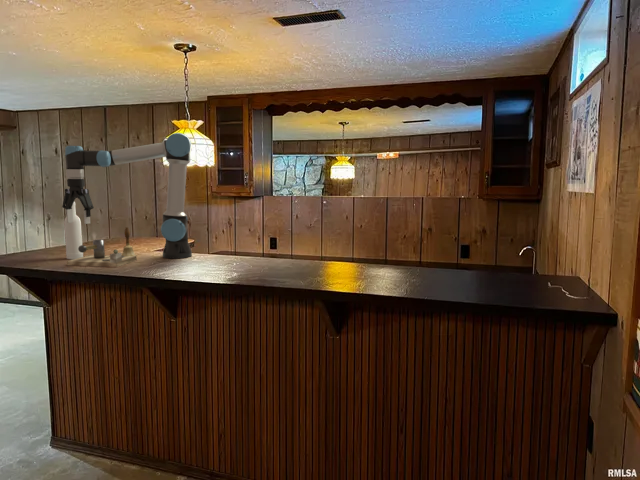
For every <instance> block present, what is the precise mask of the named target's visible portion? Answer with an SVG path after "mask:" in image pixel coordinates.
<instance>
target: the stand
mask: <svg viewBox="0 0 640 480" xmlns="http://www.w3.org/2000/svg"><path fill="white" fill-rule="evenodd" d="M118 251H119V250H118V249H114V250H113V251H112V253H110V254H109V255H105V258H94V254H89V255H85V256H83V257H81V258H77V259H69V260H67V261H66V265H67V266H76V267H77V266H78V267H81V266H82V267H111V268H118V267H121V266H124V265H126V264H129V263H132V262H135V261H137V256H122V253H123V252H118Z"/></svg>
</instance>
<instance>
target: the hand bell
mask: <svg viewBox="0 0 640 480" xmlns="http://www.w3.org/2000/svg"><path fill="white" fill-rule="evenodd" d="M130 233H131V231H130V229H129V227H128V226H127V227H125V229H124V237H125V246H124V247H123V251H122V252H121V253H122V256H136V257H137V256H138V255H137V254H136V253H135V252H134V248H133V246H132V245H130V237H131V236H130V235H131V234H130Z"/></svg>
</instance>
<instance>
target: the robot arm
mask: <svg viewBox="0 0 640 480" xmlns="http://www.w3.org/2000/svg"><path fill="white" fill-rule="evenodd" d="M64 151H65V153H64V154H65V155H64V156H65V166H66V167H65V168H66V169H65V171H66V172H65V173H66V178H67V179H66V183H67V187H69V188H64V197H63V201H62V206H61V208H63V209H64V210H65V215H66V217H67V223H71V222H73V212H72V208H71V207H72V205H73V203H74V201H75V200H76V199H78V200H79V201H80V203H81V205H82V207H83V208H84V209H83V218H84V219H83V221H84V222H83V223H84V225H86V224H87V225H89V224H90V225H91V216H92V215H91V210H93V209H94V205H93V202H92V198H91V197H90V196H91V195H90V190H89V189H88V188H84V187H85V186H86V183H85V182H86V181H85V180H86V179H85V167H102V168H108V167H112V166H118V165H125V164H130V163H135V162H142V161H150V160H156V159H161V158H165V160H166V161H167V163H168V176H167V178H168V179H167V191H166V192H167V193H166V210H165V211H164V212H163V214H162V224H161V227H160V233H161V235H162V237H163V238H164V239H165V243H164V244H165V245H164V247H163V251H162V257H163V258H164V259H185V258H190V257H191V256H193V252H192V249H191V246H190V243H189V233H188V229H189V228H188V221H189V220H188V215H187V214H186V213H185V200H186V183H187V168H188V164H190V162H191V154H192V151H193V144H192V141H191V139H190V138H189V137H188V136H187V135H186V134H184V133H181V132H174V133H171V134H170V135H169V136H168V137H167V138H166V139H164V140H163V139H162V142H157V143H151V144H145V145H140V146H132V147H125V148H119V149H113V150H102V149H101V150H84V149H83V147H82V146H80V145H67V146H65V149H64Z"/></svg>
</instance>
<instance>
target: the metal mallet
mask: <svg viewBox="0 0 640 480" xmlns="http://www.w3.org/2000/svg"><path fill="white" fill-rule="evenodd" d="M78 250H79V251H80V252H81V253H83V254H85V252H87V251H91V250H92V251H93V255H94V258H105V256H106V255H105V239H102V238H101V239H99V238H97V239H93V240H92V244H91V245H83V244H82V245H81V246H79V248H78Z"/></svg>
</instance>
